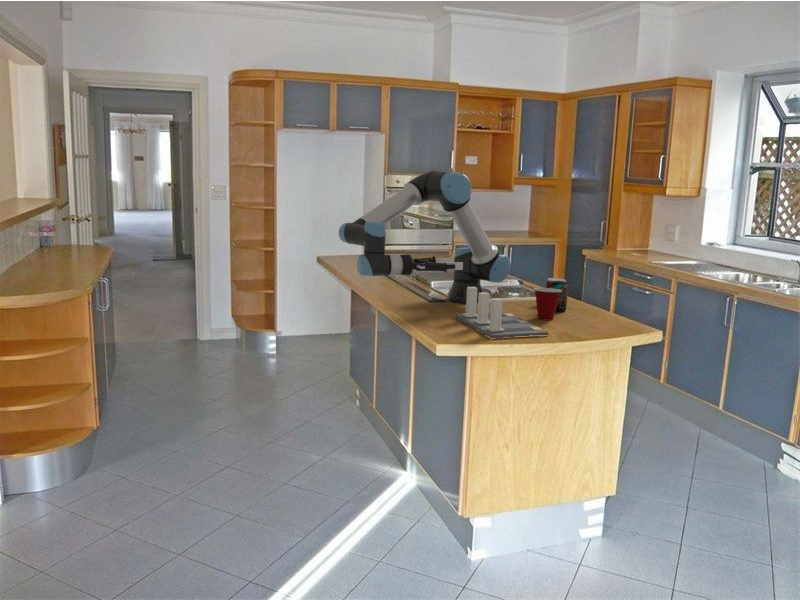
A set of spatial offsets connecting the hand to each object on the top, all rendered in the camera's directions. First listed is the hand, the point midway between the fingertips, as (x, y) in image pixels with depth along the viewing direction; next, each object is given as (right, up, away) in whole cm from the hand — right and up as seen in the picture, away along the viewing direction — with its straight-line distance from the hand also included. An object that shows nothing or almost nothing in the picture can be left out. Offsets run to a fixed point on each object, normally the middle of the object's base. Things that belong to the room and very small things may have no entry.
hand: (457, 263), depth 263 cm
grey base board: (+16, -23, -2) cm, 28 cm away
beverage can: (+44, -18, +29) cm, 55 cm away
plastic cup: (+36, -21, +14) cm, 44 cm away
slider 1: (+6, -20, +6) cm, 21 cm away
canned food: (+45, -16, +40) cm, 63 cm away
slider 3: (+12, -24, -14) cm, 31 cm away
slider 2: (+9, -22, -4) cm, 24 cm away
